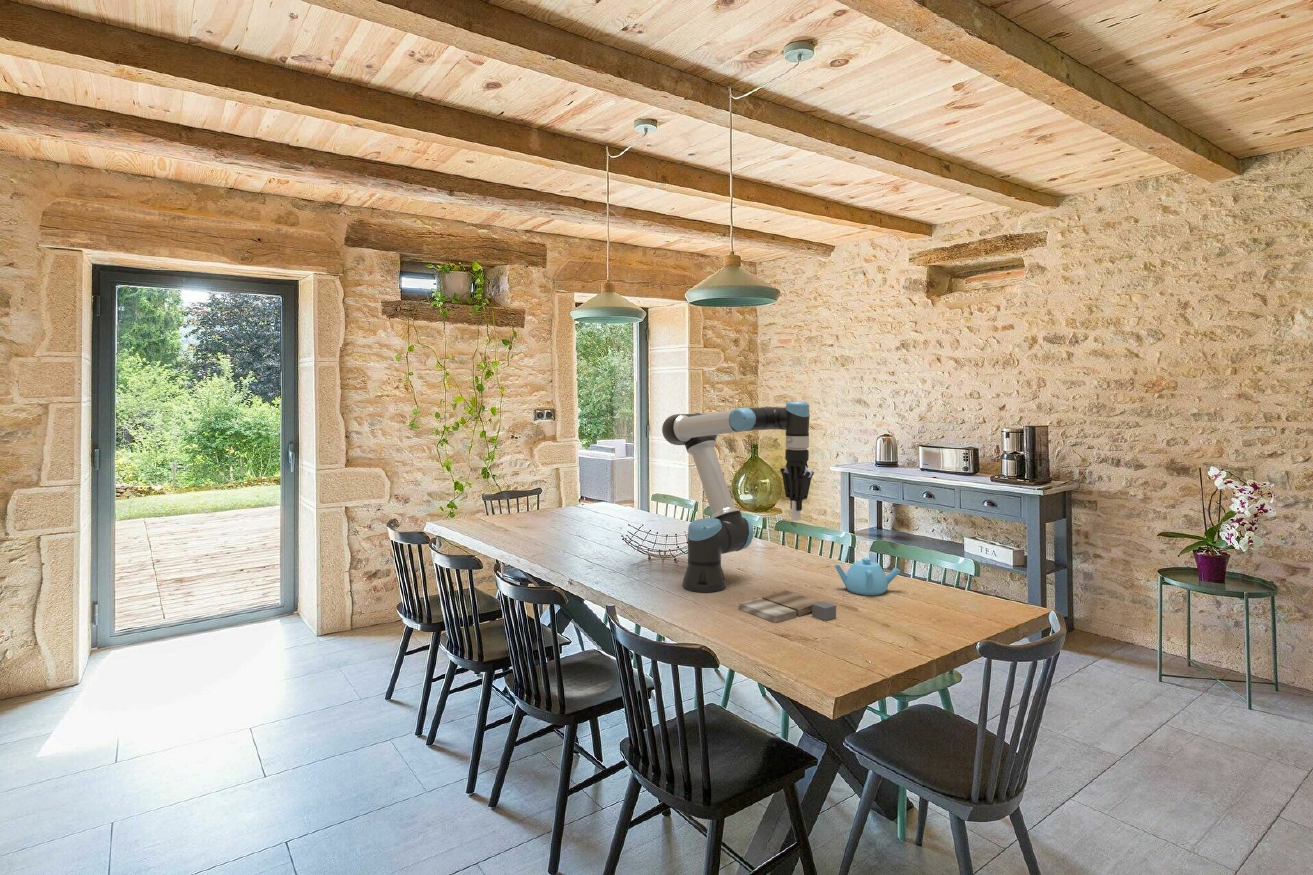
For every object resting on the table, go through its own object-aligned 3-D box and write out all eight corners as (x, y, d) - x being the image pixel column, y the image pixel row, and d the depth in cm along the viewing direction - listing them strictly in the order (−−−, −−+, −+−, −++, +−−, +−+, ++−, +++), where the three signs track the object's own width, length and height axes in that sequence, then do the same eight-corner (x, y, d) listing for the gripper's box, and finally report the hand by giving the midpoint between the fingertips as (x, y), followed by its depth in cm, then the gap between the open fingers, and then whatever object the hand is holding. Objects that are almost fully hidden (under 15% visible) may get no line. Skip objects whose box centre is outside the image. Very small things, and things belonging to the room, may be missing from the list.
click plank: (762, 603, 227) (762, 597, 226) (784, 595, 232) (784, 589, 232) (799, 616, 214) (798, 609, 213) (821, 607, 219) (821, 601, 219)
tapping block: (812, 617, 214) (812, 604, 213) (823, 613, 217) (823, 601, 216) (824, 621, 210) (825, 608, 209) (835, 618, 212) (836, 605, 212)
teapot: (876, 600, 230) (877, 567, 229) (832, 589, 243) (833, 557, 242) (901, 592, 240) (902, 559, 239) (858, 581, 253) (858, 551, 252)
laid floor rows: (738, 609, 221) (738, 602, 221) (759, 604, 226) (759, 597, 226) (774, 622, 208) (775, 616, 208) (796, 617, 213) (796, 610, 213)
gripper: (774, 447, 232) (773, 518, 234) (803, 450, 221) (802, 524, 223) (790, 446, 236) (789, 515, 238) (820, 449, 226) (818, 521, 227)
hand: (795, 519), depth 230 cm, fingers closed
